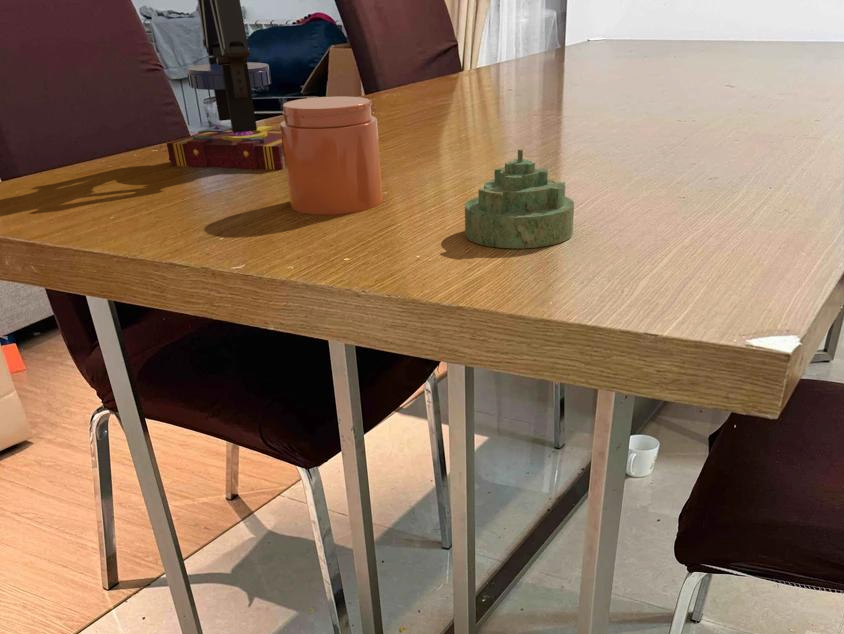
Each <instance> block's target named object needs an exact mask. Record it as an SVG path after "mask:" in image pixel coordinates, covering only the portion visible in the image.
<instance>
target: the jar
mask: <svg viewBox="0 0 844 634" xmlns="http://www.w3.org/2000/svg"><path fill="white" fill-rule="evenodd" d="M372 105H373V101H372V100H371V99H369V98H366V97H361V96H347V95H346V96H345V95H343V96H337V95H335V96H319V97H317V96H316V97H307V98H299V99H294V100H289V101H286V102H284V103H283V104H282V110H283V111H282V116H283V117H284V120H282V121H281V122H280V123H279V128H280V129H279V130H281V137H282V145H283V152H284V159H285V167H284V168H285V173H286V180H287V181H286V182H287V187H288V196H289V203H290V208H291V209H292V210H294V211H295V212H298V213H304V214H309V215H344V214H353V213H358V212H364V211H368V210H371V209H374V208H377V207H379V206H380V205H382V204H383V202H384V195H383V182H382V169H381V168H382V167H381V154H380V139H379V138H380V137H379V129H378V128H379V127H378V126H379V125H378V118H377V117H376V116H373V115H372Z"/></svg>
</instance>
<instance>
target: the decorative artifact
mask: <svg viewBox="0 0 844 634" xmlns="http://www.w3.org/2000/svg"><path fill="white" fill-rule="evenodd" d="M523 157H524V150H523V149H521V148H520V149H517V158H515V159H512V160H510V161H508V162H505V163H504V166H503V167H498V168H496V169H494V178H493V179H490V180H487V181H486V182H484V183H483V188H479V189H478V196H476V197H473V198H471V199H468V200H467V201H466V202H465V203H464V235H465V238H466V239H467V240H468V241H470V242H472V243H474V244H476V245H480V246H483V247H489V248H497V249H510V250H512V249H514V250H517V249H520V250H521V249H523V250H524V249H536V248H537V249H538V248H542V247H549V246H550V247H551V246H554V245H557V244H561V243H564V242H566V241H567V240H569V239H571V237H572V236H573V233H574V215H575V201H574V200H573V199H572V198H570V197H568V196H566V185H567V184H566V182H565V181H564V182H555V180H552V179H550V178H549V170H548V169H546V168H536V162H532V161H531V160H529V159H525V158H523Z"/></svg>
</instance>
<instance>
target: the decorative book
mask: <svg viewBox="0 0 844 634" xmlns="http://www.w3.org/2000/svg"><path fill="white" fill-rule="evenodd" d="M166 147H167V152H168V156H169V157H168V161H169V163H170V166H171V167H187V168H188V167H189V168H199V169H200V168H202V169H203V168H204V169H205V168H206V169H207V168H215V169H217V168H219V169H240V170H271V171H272V170H273V171H274V170H276V171H279V170H280V171H282V170H284V168H286V167H285V159H284V152H283V145H282V137H281V130H280V129H273V126H272V125H271V126H270V125H269V126H268V125H267V126H266V125H259V126H257V131H245V132H232V126H219V125H215V126H214V125H213V126H210V127H207V128H205V129H202V130H201V129H200V130H198V131H197V133H194V134H192V135H188V136H184V137H182V138H178V139H176V140H173V141H170V142H166Z"/></svg>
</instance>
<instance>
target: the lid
mask: <svg viewBox="0 0 844 634" xmlns="http://www.w3.org/2000/svg"><path fill="white" fill-rule="evenodd" d="M247 65H248V72H249V79H250V85H251V89H252V88H259V87H260V88H261V87H264V86H269V85H271V84H272V78H271V70H270V65H269V64H268V63H265V62H264V63H263V62H254V61H253V62H249V61H247ZM186 72H187V74H186V76H187V80H188V86H189V87H190V88H191V89H196V90H204V91H205V90H206V91H207V90H208V91H214V90H226V89H225V83H224V77H223V71H222V65H217V63H216V64H209V63H207V64H206V63H205V64H199V65H192V66H189V67H187V68H186Z"/></svg>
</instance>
